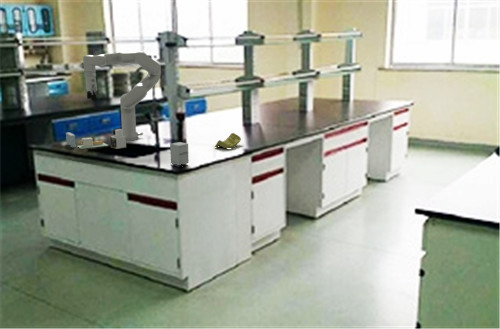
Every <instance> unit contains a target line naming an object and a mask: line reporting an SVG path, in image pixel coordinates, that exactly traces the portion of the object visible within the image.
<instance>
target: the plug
mask: <svg viewBox="0 0 500 329" xmlns="http://www.w3.org/2000/svg"><path fill="white" fill-rule="evenodd" d="M80 139H81V140H80V145H82V146H83V147H89V146H93V145H98V144H103V143H104V140H95V141H93V137H83V138H80Z"/></svg>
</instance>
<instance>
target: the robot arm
mask: <svg viewBox="0 0 500 329" xmlns="http://www.w3.org/2000/svg"><path fill="white" fill-rule="evenodd" d="M82 62H83V63H82V64H83V76H84V77H85V89H86V98H87V100H91V101H97V100H98V99H97V91H98V84H97V79H96V77H97V73H96V72H97V71H96V70H97V69H96V67H104V66H111V65H112V66H114V65H118V66H127V65H139V66H141V67H142V69H144V70H146V71H147V72H148V73H147V75H146V76H144V77H143V78H142V79H141V80H140V81H139V82H138V83H136V84H134V86H133V87H132V88H131V90H129V91H128V92H127V93H123V94H122V95H121V96H120V100H119V102H120V115H121V116H120V117H121V129H122V132H123V135H122V136H125V137H126V141H136V139H137V140H139V139H138V138H139V136H143V135H144V133H143V132H138V131H137V124H136V123H137V122H136V120H137V119H136V105H138V104H139V103H140V102H142V100H143V99H144V98H146V96H147V94H148V92H149V91H151V90H152V89H153V87H155V86H156V85H157V84H158V83H159V81H160V80H161V79H160V78H161V74H162V72H161V71H162V67H161V65H160V63H159V62H157V61H156V60H154V59H153V58H152V57H150V55H148V54H147V53H145V52H144V51H142V50H135V51H134V50H133V51H132V50H131V51H122V52H115V53H113V52H112V53H101V54H97V55H93V54H85V55H83V56H82Z"/></svg>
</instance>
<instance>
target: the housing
mask: <svg viewBox="0 0 500 329" xmlns="http://www.w3.org/2000/svg"><path fill="white" fill-rule="evenodd" d="M65 137H66V145H67V146H70V147H71V148H77V144H76V135H75V134H74V133H72V132H65Z"/></svg>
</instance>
